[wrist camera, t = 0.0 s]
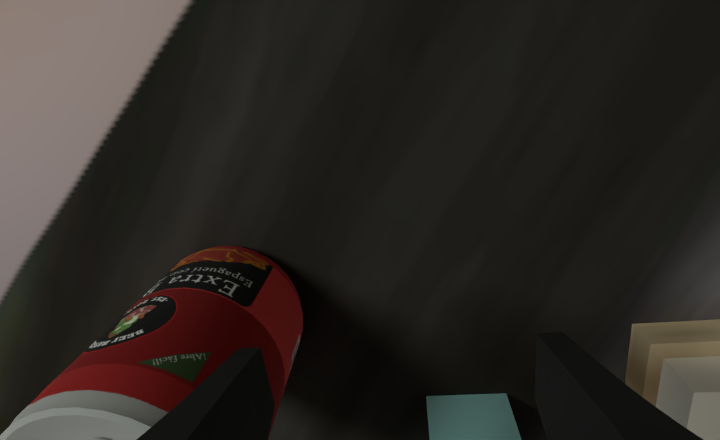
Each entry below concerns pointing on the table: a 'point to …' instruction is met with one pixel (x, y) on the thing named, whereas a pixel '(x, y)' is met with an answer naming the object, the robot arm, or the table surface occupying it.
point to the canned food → (171, 348)
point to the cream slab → (692, 394)
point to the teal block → (471, 417)
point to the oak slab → (666, 350)
